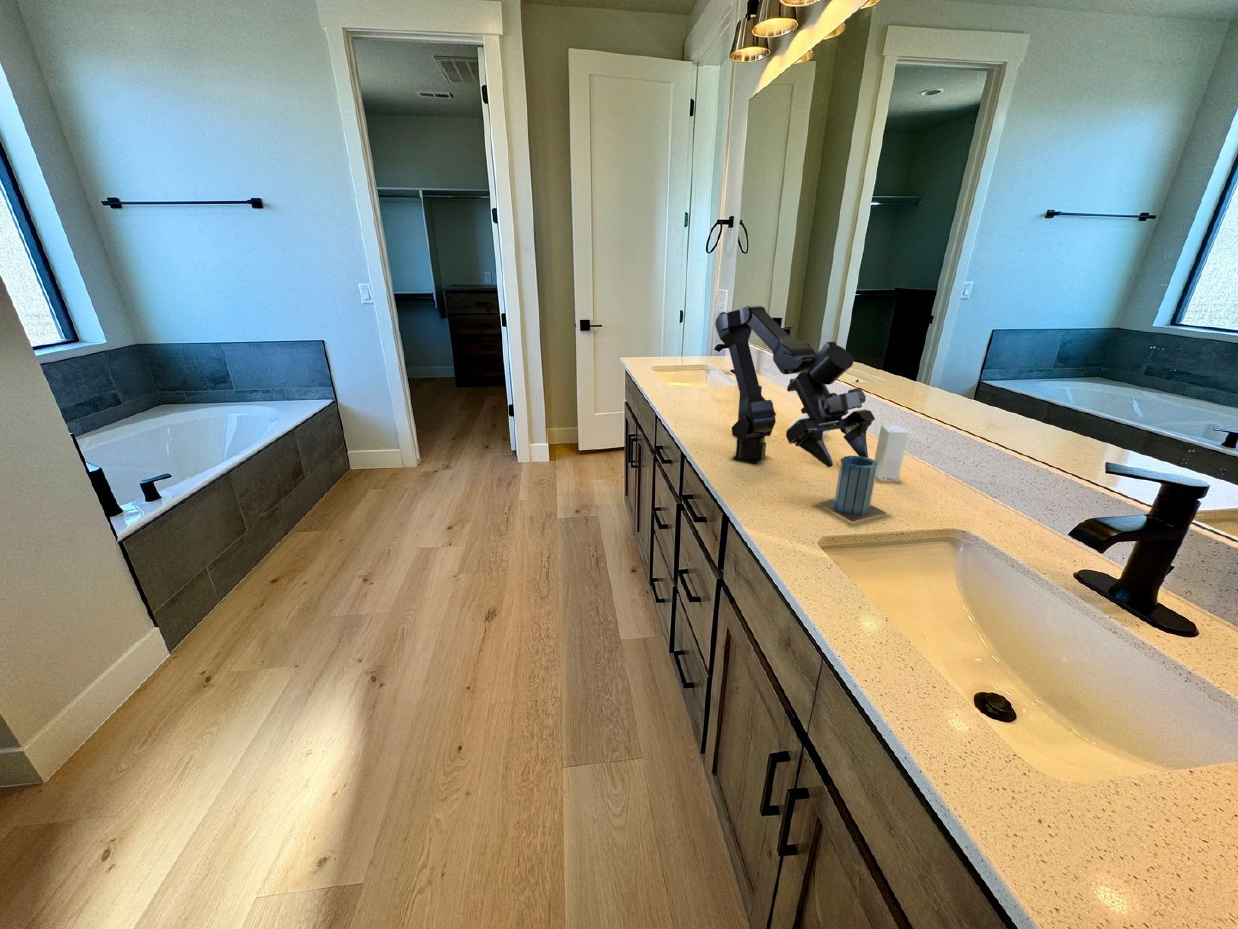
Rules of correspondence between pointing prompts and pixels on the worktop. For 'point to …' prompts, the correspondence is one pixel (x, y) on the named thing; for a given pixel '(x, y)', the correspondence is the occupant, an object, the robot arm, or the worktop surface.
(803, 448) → the robot arm
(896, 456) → the cosmetic box
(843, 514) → the walnut stand
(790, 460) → the worktop surface
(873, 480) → the blue slatted cup
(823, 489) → the worktop surface
